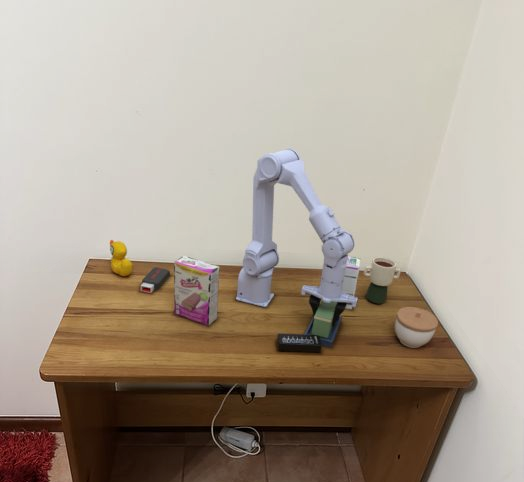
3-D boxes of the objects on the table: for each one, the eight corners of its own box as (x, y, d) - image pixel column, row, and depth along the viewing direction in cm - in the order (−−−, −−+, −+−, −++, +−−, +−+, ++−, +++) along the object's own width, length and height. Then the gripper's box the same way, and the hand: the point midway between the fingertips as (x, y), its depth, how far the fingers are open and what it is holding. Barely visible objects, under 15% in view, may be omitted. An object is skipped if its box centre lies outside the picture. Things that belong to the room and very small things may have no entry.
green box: (319, 315, 137) (323, 297, 134) (335, 319, 136) (339, 301, 133) (311, 334, 129) (314, 315, 126) (327, 338, 128) (331, 319, 125)
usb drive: (170, 275, 152) (169, 268, 151) (154, 294, 142) (154, 286, 141) (154, 272, 153) (154, 265, 152) (137, 291, 143) (137, 282, 142)
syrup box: (351, 310, 144) (361, 266, 137) (331, 306, 145) (340, 262, 137) (352, 300, 149) (361, 257, 142) (333, 297, 150) (341, 254, 142)
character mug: (390, 295, 154) (399, 258, 147) (395, 307, 148) (405, 269, 141) (356, 292, 153) (364, 255, 147) (359, 304, 147) (368, 266, 141)
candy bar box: (173, 315, 134) (172, 261, 125) (183, 306, 138) (183, 254, 129) (208, 327, 130) (210, 273, 122) (218, 318, 134) (220, 265, 126)
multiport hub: (276, 340, 128) (277, 333, 126) (318, 342, 128) (319, 335, 127) (278, 350, 124) (279, 343, 123) (320, 352, 125) (322, 345, 123)
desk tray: (303, 340, 129) (304, 334, 128) (315, 315, 140) (315, 310, 139) (331, 347, 127) (332, 342, 126) (341, 322, 138) (342, 316, 137)
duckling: (104, 267, 154) (102, 238, 148) (121, 263, 157) (118, 234, 151) (121, 282, 146) (118, 252, 141) (137, 278, 149) (135, 248, 144)
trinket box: (424, 358, 127) (434, 328, 122) (385, 342, 131) (392, 313, 126) (435, 339, 135) (444, 310, 130) (397, 325, 139) (405, 297, 134)
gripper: (301, 278, 123) (294, 323, 130) (357, 291, 120) (348, 336, 127) (308, 267, 129) (301, 310, 136) (362, 279, 126) (352, 323, 133)
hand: (324, 322), depth 132 cm, fingers closed on green box, 4 cm apart
